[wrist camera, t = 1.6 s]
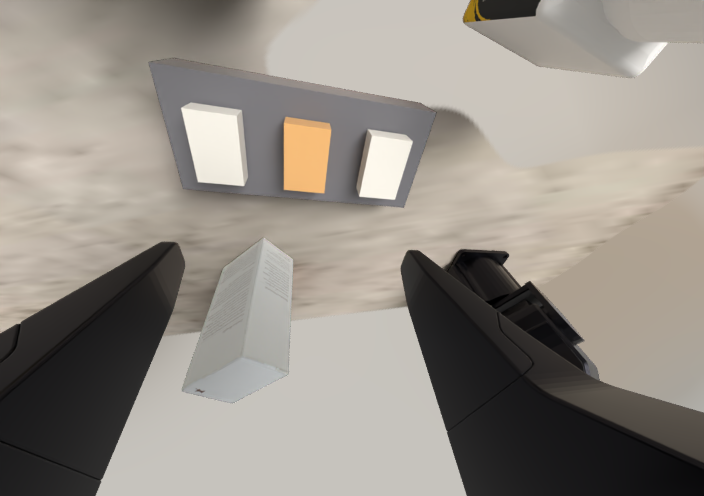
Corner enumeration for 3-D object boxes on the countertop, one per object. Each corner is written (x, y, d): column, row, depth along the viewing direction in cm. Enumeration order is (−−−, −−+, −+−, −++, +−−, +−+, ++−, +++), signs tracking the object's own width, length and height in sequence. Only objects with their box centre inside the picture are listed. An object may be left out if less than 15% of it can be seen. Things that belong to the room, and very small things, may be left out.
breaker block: (420, 102, 18) (436, 112, 16) (394, 190, 23) (403, 207, 20) (172, 57, 15) (148, 61, 13) (197, 170, 19) (183, 189, 17)
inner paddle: (406, 134, 16) (412, 141, 15) (389, 190, 19) (394, 199, 18) (367, 129, 16) (371, 135, 15) (356, 187, 18) (359, 196, 17)
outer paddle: (241, 110, 14) (236, 116, 13) (248, 176, 17) (244, 186, 16) (190, 102, 14) (180, 107, 13) (205, 172, 16) (197, 182, 15)
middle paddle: (329, 123, 15) (331, 129, 14) (323, 184, 18) (324, 193, 17) (285, 116, 15) (283, 122, 14) (285, 180, 17) (283, 189, 16)
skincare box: (256, 286, 28) (231, 405, 19) (222, 266, 26) (176, 392, 16) (296, 259, 26) (290, 376, 17) (264, 234, 24) (238, 357, 15)
